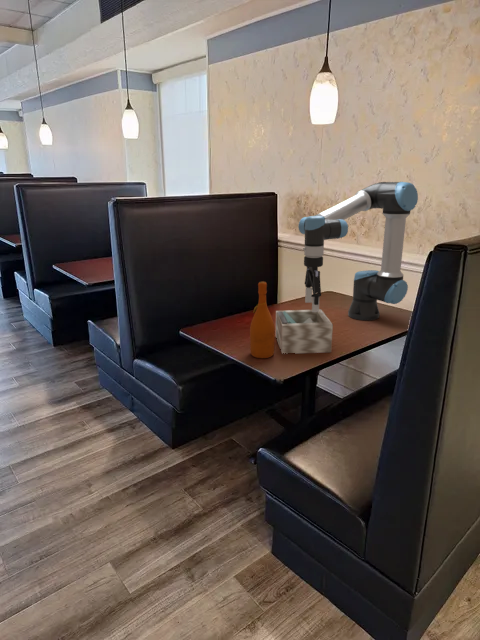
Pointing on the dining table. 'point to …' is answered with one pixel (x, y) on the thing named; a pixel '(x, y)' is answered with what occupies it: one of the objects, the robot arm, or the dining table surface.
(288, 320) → the trapdoor
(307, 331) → the crate
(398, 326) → the dining table surface
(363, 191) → the robot arm
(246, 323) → the dining table surface
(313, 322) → the light grey cube
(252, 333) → the wine bottle
